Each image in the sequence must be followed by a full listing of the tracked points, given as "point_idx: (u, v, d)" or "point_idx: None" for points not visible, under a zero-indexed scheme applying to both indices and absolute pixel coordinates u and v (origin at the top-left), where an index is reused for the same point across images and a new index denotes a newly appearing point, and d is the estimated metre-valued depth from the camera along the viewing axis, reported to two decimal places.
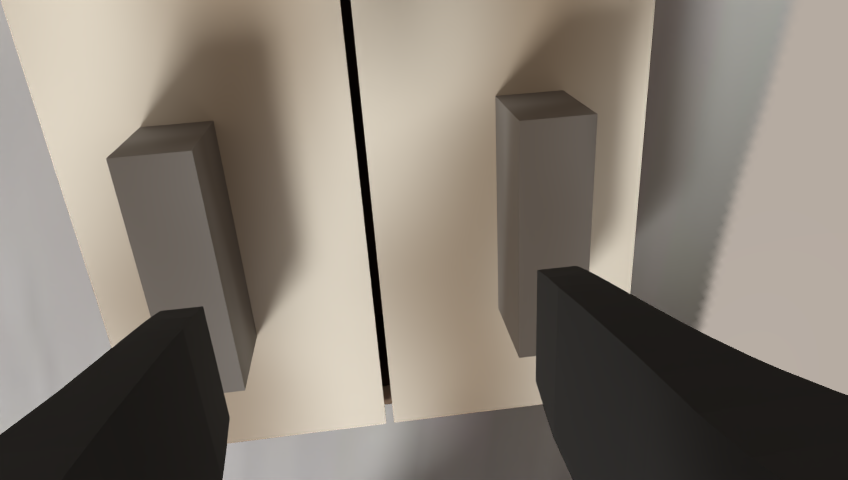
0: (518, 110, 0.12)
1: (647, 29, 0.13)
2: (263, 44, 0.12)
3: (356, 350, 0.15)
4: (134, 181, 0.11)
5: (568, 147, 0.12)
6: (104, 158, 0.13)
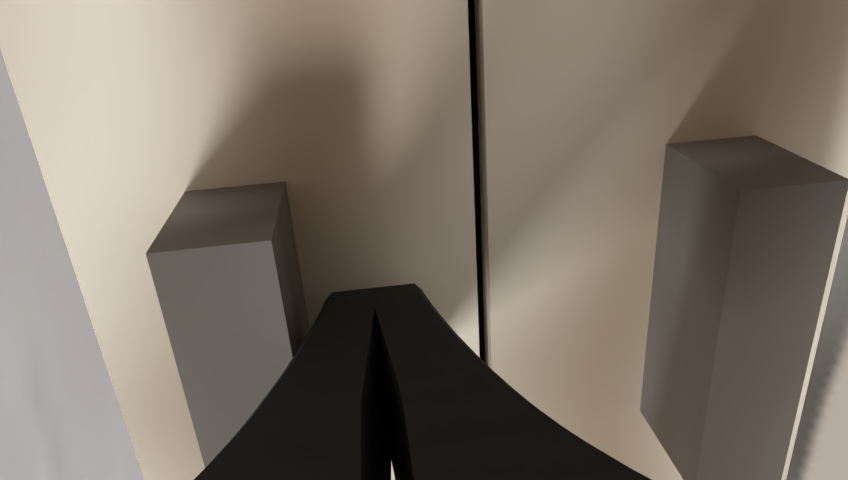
0: (720, 169, 0.09)
1: None
2: (359, 78, 0.09)
3: None
4: (186, 284, 0.08)
5: (802, 226, 0.08)
6: (135, 233, 0.09)
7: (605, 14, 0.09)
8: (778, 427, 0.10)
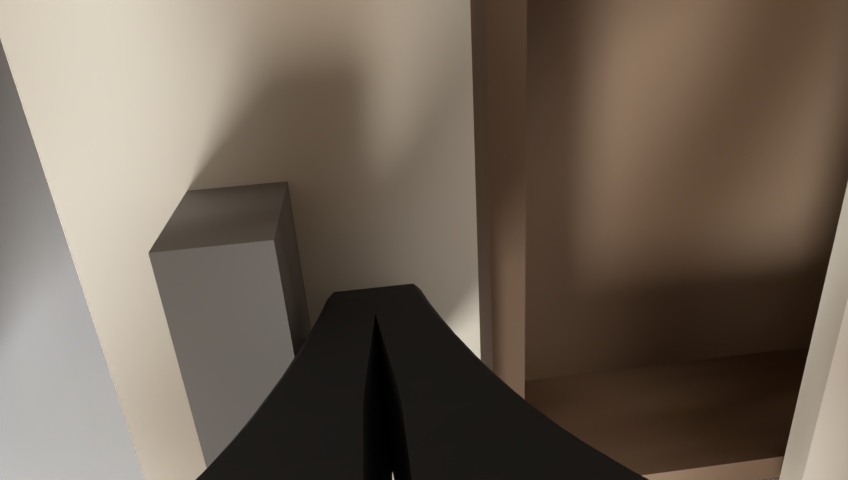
0: None
1: None
2: (361, 78, 0.09)
3: None
4: (188, 283, 0.08)
5: None
6: (137, 233, 0.09)
7: None
8: None
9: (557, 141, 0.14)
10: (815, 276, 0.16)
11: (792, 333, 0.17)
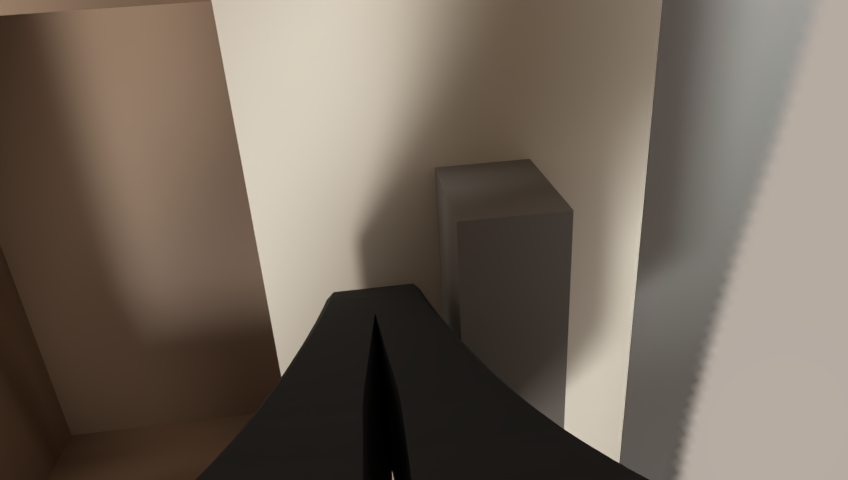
0: (460, 197, 0.08)
1: (647, 76, 0.09)
2: None
3: None
4: None
5: (531, 257, 0.08)
6: None
7: (349, 36, 0.08)
8: None
9: (63, 186, 0.13)
10: None
11: None
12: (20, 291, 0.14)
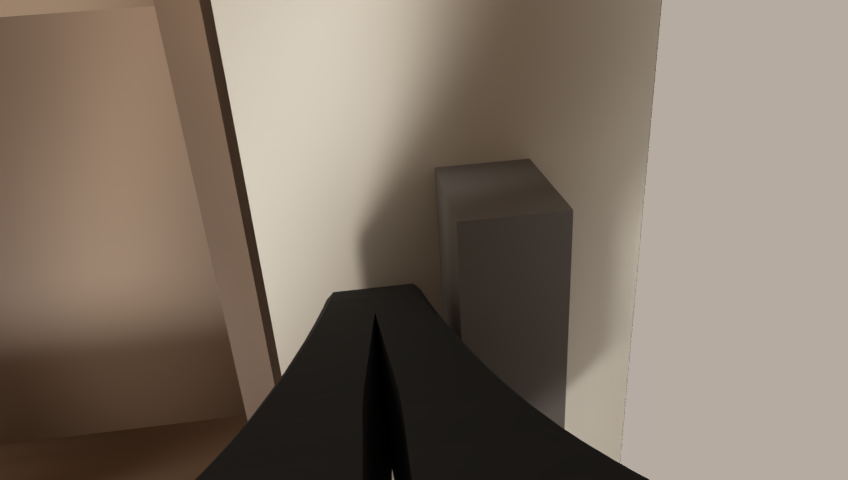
0: (460, 197, 0.08)
1: (647, 75, 0.09)
2: None
3: None
4: None
5: (531, 256, 0.08)
6: None
7: (348, 35, 0.08)
8: None
9: None
10: (162, 350, 0.15)
11: (165, 408, 0.16)
12: None
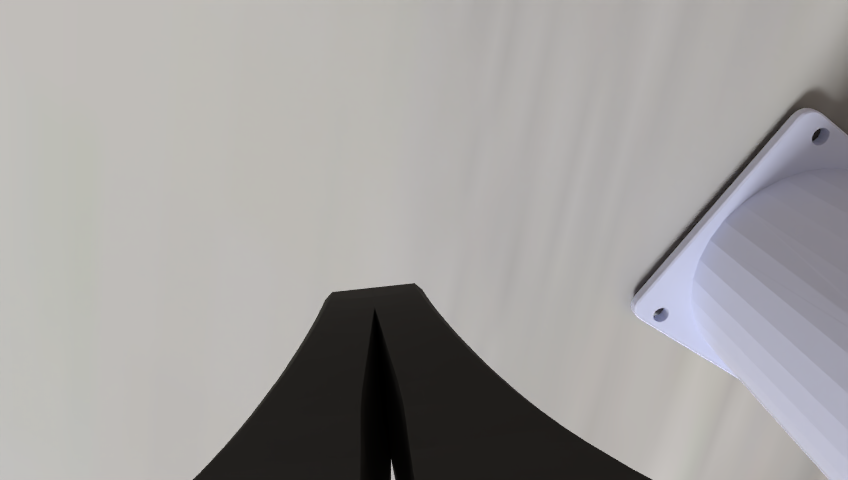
0: None
1: None
2: None
3: None
4: None
5: None
6: None
7: None
8: None
9: None
10: None
11: None
12: None
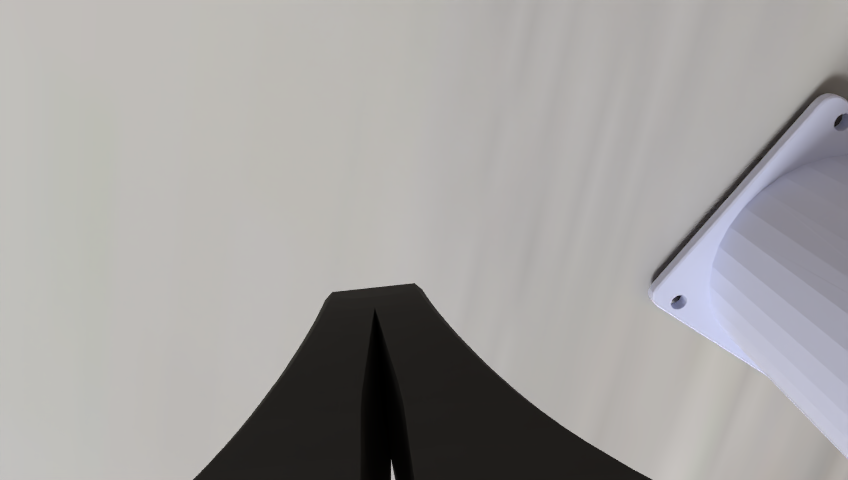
0: None
1: None
2: None
3: None
4: None
5: None
6: None
7: None
8: None
9: None
10: None
11: None
12: None
